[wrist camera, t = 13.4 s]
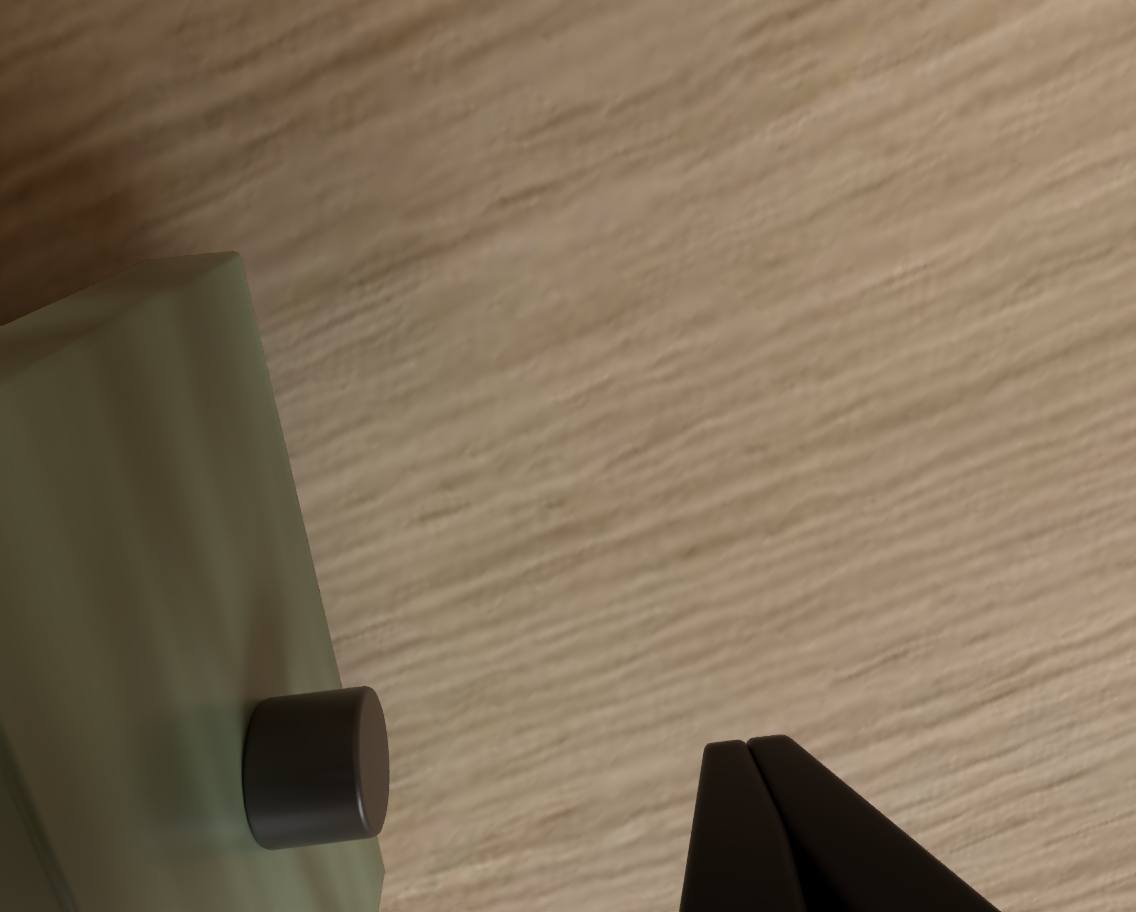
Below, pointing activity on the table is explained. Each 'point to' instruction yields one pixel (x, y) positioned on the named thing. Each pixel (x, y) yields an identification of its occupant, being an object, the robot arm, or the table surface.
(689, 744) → the table surface
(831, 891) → the robot arm
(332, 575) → the table surface
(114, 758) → the drawer
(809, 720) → the table surface
